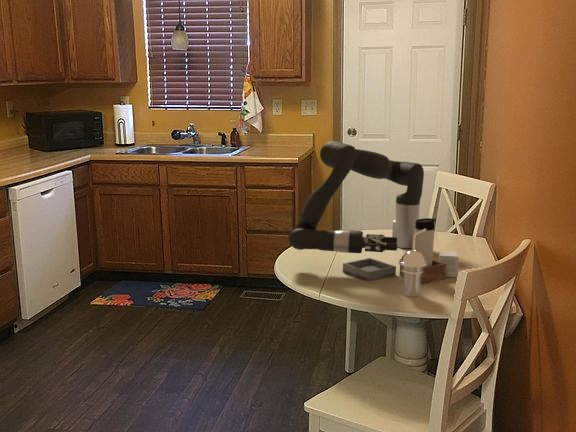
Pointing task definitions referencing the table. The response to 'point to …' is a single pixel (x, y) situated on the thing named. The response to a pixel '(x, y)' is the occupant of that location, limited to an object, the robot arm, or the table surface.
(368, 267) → the slate tray
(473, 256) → the table surface
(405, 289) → the cup with straw
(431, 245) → the travel mug
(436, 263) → the walnut holder
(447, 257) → the product box
